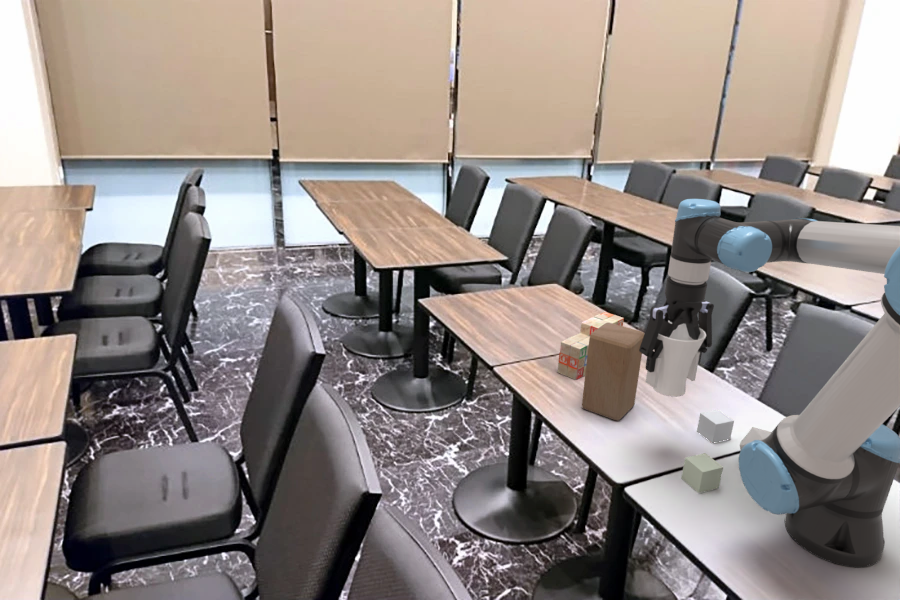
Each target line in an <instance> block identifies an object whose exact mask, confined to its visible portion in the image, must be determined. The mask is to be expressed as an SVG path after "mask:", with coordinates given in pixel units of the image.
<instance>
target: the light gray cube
mask: <svg viewBox="0 0 900 600" xmlns="http://www.w3.org/2000/svg"><path fill="white" fill-rule="evenodd" d="M734 423H735V420H734V419H732V418H731V417H729V416H728V415H727V414H725V413H724V412H722V411H721V410H719V409H713V410H708V411H704V412H700V414H699V419H698V423H697V428H696V432H697V433H698V434H699V433H700V434H701V435H700V434H699V435H700V436H702V437H703V436H704V437H705V439H706V438H707V439H708V440H709V441H711V442H712V443H713V444H715V443H714V442H717V443H720V442H719V441H722V442H724V441H723V440H726V441H728V440H727V439H730V440H731V437H732V433H733V428H734ZM704 437H703V438H704ZM707 439H706V440H707ZM708 440H707V441H708ZM711 442H710V443H711ZM712 443H711V444H712Z"/></svg>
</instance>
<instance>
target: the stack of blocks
mask: <svg viewBox="0 0 900 600" xmlns="http://www.w3.org/2000/svg"><path fill="white" fill-rule="evenodd" d="M624 319H625V318H624V317H621V316H619V315H616V314H613V313H610V312H606V311H603V312H602V313H599V314H596V315H594V316H592V317H589V318H588V319H586V320H584V321H582V322H581V323H580V328H579V332H578V333H576V334H575V335H572V336H569V337H567V338H566V339H564V340H562V341H560V348H559V353H558V363H557V373H558V374H561V375H563V376H565V377H568V378H570V379H572V380H574V381H575V380H576V381H577V380H579V379H580V378H582V377H585V373H586V364H587V356H588V347H589V338H590V335H591V333H592V332H594V331H595V330H597V329H598V328H599V327H601V326H602V325H604V324H605V323H612V324H616V325H620V326H623V327H624Z"/></svg>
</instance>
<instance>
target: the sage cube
mask: <svg viewBox="0 0 900 600" xmlns="http://www.w3.org/2000/svg"><path fill="white" fill-rule="evenodd" d="M723 469H724V466H723V465H721V464H720V463H719V462H717V461H716V460H715V459H714V458H712V457H711V456H710V455H709V454H707V453H706V452H705V453H699V454H695V455H692V456H691V455H690V456H687V457H684V463H683V467H682V472H681V479H682V481H684V482H685V483H686V484H687V485H688V486H689V487H691V489H693V490H694V491H696V493H698V494H702V493H705V492H709V491H712V490H716V489H719V488H720V484H721V480H722V475H723Z"/></svg>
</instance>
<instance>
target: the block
mask: <svg viewBox="0 0 900 600" xmlns="http://www.w3.org/2000/svg"><path fill="white" fill-rule="evenodd" d="M644 334H645V332H643V331H641V330H637V329H634V328H630V327H626V326H624V325H623V326H620V325H616V324H612V323H605V324H604V325H602V326H601V327H599V328H598V329H597V330H595V331H594V332H592V333H591V335H590V338H589V347H588V356H587V364H586V373H585V376H584V382H583V389H582V390H583V391H582V398H581V399H582V400H581V408H582V409H584V410H586V411H589V412H591V413H595V414H597V415H600V416H603V417H605V418H609V419H611V420H613V421H620V420H622V418H623V417H624V416H625V415H627V413H629V411H630V410H631V409H632V408H633V407H634V406H635V403H636V396H637V395H636V394H637V389H638V383H639V376H640V370H641V369H640V368H641V363H642V356H643V354H642V353H641V352H640V351H639V349H640V346H641V343H642V340H643V337H644Z"/></svg>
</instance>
